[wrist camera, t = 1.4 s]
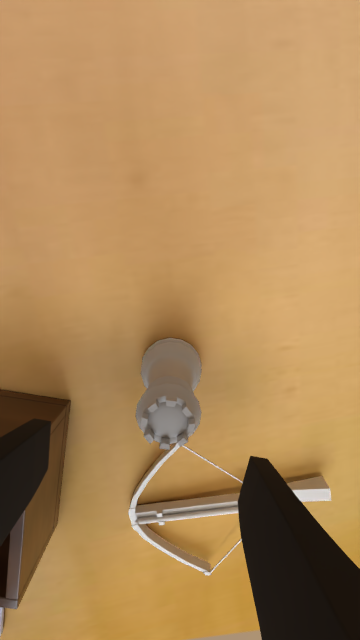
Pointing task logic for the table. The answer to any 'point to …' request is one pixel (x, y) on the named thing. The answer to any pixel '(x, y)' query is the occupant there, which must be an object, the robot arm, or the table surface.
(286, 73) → the table surface
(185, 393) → the rook chess piece
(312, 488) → the crossbow
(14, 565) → the crate
